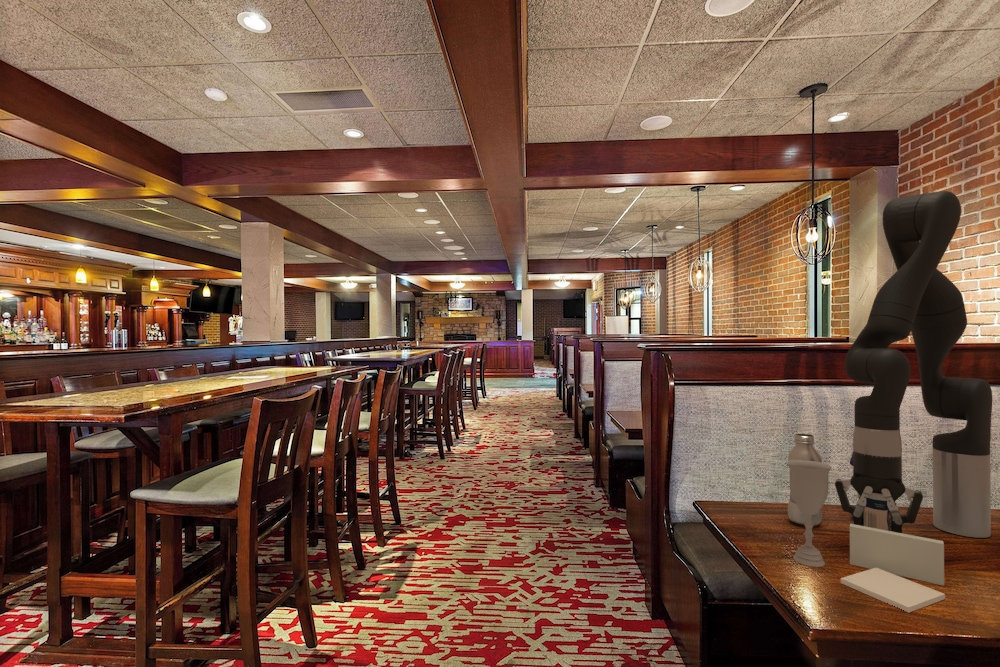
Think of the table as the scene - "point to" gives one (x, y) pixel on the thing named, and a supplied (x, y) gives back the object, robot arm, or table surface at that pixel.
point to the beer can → (877, 513)
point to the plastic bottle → (808, 453)
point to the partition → (897, 553)
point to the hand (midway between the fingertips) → (877, 538)
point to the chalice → (809, 502)
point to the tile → (893, 589)
